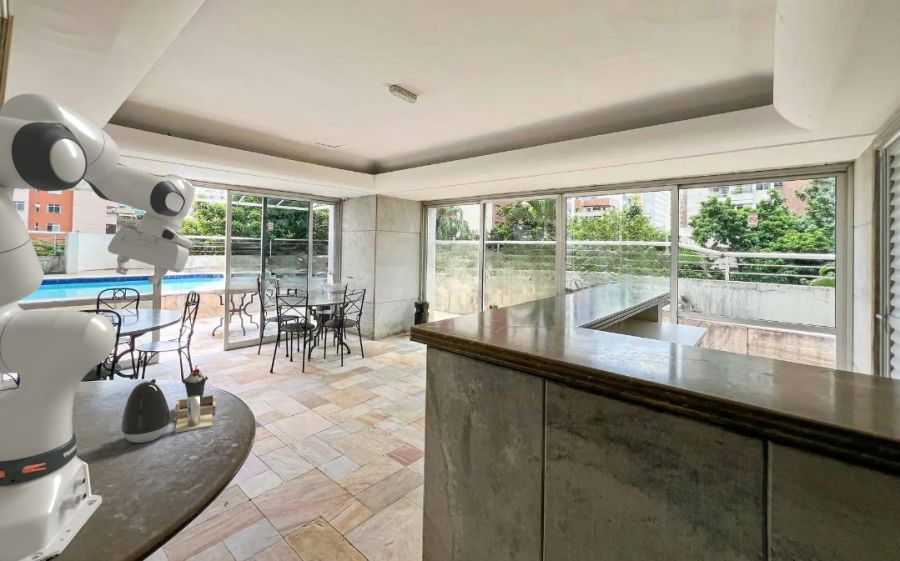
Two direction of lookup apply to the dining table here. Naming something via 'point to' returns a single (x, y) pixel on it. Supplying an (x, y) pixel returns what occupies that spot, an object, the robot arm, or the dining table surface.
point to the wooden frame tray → (194, 413)
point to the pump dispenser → (145, 413)
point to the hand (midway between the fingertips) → (136, 278)
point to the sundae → (195, 383)
